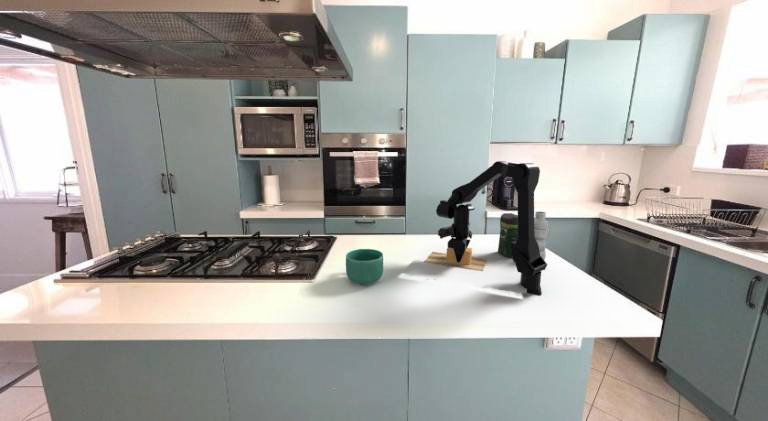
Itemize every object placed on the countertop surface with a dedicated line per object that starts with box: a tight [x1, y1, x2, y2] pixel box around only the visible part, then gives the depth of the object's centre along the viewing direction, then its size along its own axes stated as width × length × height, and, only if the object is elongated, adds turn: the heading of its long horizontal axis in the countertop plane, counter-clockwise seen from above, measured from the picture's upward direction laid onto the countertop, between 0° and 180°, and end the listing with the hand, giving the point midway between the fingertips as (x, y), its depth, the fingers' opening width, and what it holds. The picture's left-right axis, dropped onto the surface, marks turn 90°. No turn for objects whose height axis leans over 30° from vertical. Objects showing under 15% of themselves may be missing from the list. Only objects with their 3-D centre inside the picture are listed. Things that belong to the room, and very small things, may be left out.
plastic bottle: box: [534, 211, 550, 261], centre depth 121 cm, size 6×7×20 cm
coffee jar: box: [497, 212, 518, 259], centre depth 125 cm, size 10×8×19 cm
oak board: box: [423, 251, 488, 272], centre depth 119 cm, size 14×22×2 cm, turn 66°
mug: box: [345, 248, 384, 286], centre depth 104 cm, size 17×12×10 cm
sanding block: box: [446, 247, 473, 265], centre depth 118 cm, size 5×9×5 cm, turn 66°
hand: (459, 260), depth 118 cm, fingers closed on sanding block, 5 cm apart
